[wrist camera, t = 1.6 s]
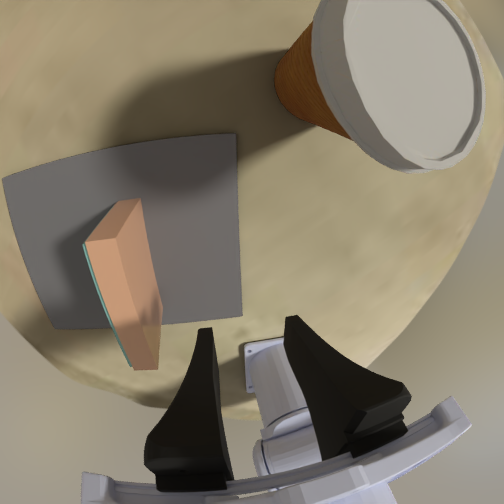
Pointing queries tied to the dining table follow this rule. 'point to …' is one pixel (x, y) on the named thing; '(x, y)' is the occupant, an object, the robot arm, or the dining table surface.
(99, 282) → the terracotta tile
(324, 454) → the robot arm
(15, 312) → the dining table surface
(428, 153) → the disposable coffee cup
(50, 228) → the rubber mat
